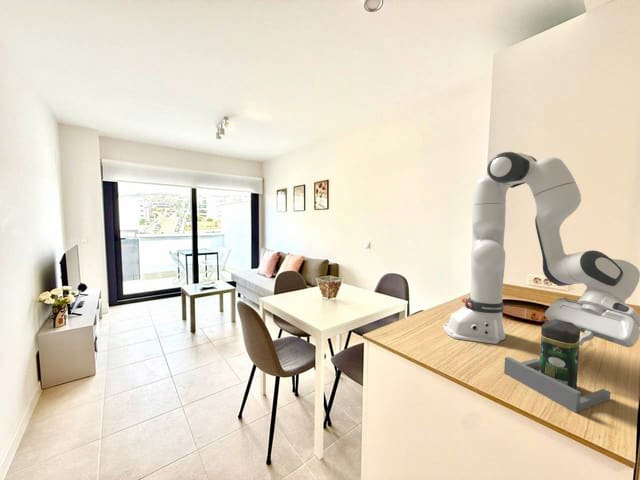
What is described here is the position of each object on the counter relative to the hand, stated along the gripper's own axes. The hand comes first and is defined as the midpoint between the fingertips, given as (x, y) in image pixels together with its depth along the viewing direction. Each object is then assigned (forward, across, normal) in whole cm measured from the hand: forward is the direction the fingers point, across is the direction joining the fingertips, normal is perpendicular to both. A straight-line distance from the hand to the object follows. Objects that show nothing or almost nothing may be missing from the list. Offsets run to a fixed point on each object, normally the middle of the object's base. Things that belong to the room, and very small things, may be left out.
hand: (574, 342), depth 79 cm
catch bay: (+14, 0, +2) cm, 14 cm away
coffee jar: (+14, +1, +2) cm, 14 cm away
